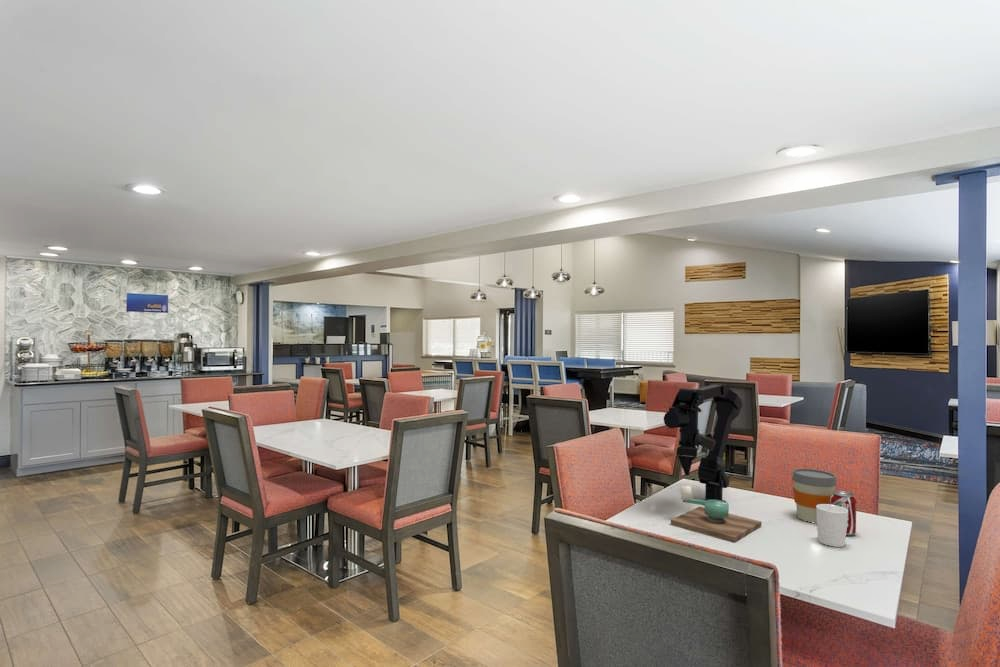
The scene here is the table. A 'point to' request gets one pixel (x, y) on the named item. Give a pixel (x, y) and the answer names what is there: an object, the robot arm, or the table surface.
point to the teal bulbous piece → (706, 504)
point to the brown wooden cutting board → (717, 524)
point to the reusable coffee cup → (812, 491)
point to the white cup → (831, 524)
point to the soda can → (848, 503)
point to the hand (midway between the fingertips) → (687, 472)
